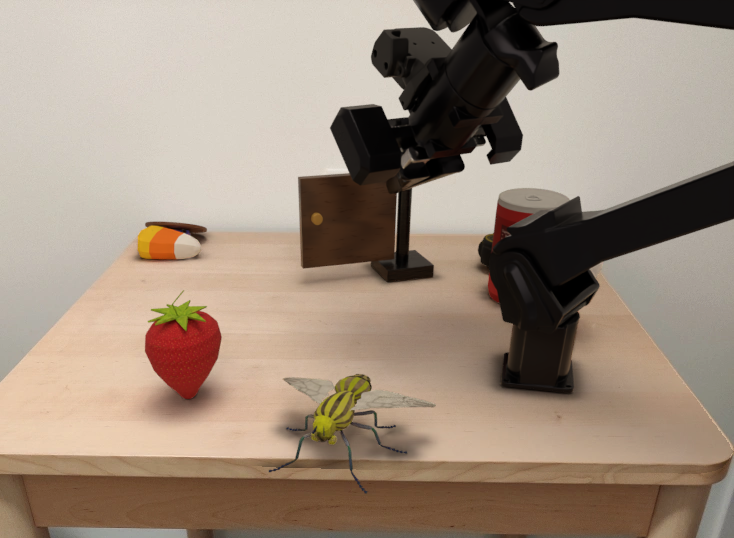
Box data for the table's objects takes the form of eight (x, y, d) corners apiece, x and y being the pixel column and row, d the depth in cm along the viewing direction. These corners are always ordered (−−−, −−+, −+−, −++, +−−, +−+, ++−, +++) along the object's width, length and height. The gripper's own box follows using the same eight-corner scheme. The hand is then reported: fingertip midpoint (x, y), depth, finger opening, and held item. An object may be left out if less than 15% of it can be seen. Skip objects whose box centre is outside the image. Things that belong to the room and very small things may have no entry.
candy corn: (133, 261, 95) (193, 270, 94) (130, 239, 93) (191, 247, 92) (152, 242, 100) (210, 250, 99) (149, 220, 98) (208, 228, 97)
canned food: (534, 281, 91) (549, 185, 84) (566, 306, 84) (584, 205, 78) (475, 286, 89) (486, 189, 82) (503, 312, 83) (516, 209, 76)
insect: (439, 425, 63) (444, 371, 60) (399, 502, 54) (402, 445, 51) (295, 397, 66) (292, 345, 63) (237, 466, 58) (231, 410, 55)
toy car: (137, 220, 97) (137, 232, 97) (199, 223, 97) (199, 235, 97) (155, 228, 105) (155, 239, 105) (212, 231, 104) (212, 242, 105)
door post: (414, 261, 96) (420, 160, 89) (433, 277, 91) (440, 172, 84) (370, 266, 94) (372, 164, 87) (387, 282, 90) (391, 176, 83)
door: (391, 256, 92) (394, 169, 86) (396, 261, 91) (400, 173, 85) (300, 266, 89) (297, 176, 83) (304, 271, 88) (302, 180, 82)
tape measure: (542, 267, 95) (546, 237, 93) (515, 281, 91) (519, 250, 88) (495, 255, 98) (498, 226, 96) (467, 269, 94) (470, 238, 92)
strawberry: (240, 384, 68) (231, 277, 63) (199, 424, 63) (184, 310, 57) (183, 374, 70) (169, 268, 64) (138, 411, 64) (117, 299, 58)
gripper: (519, -11, 66) (431, 109, 80) (341, -8, 58) (278, 126, 71) (569, 102, 66) (473, 203, 79) (398, 122, 57) (323, 232, 71)
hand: (390, 189), depth 75 cm, fingers closed
